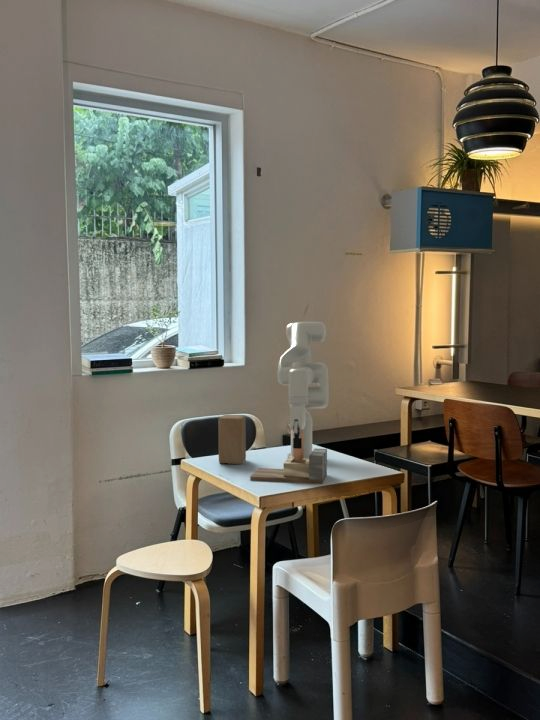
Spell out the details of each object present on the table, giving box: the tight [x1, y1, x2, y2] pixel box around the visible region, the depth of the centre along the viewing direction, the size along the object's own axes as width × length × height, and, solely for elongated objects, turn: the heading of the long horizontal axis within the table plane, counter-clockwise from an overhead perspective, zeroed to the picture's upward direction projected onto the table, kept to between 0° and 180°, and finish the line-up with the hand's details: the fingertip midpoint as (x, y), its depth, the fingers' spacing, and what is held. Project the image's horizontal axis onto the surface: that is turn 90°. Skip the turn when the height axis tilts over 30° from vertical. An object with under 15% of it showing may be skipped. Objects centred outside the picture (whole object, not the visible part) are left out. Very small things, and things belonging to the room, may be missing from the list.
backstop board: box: [249, 448, 328, 485], centre depth 271 cm, size 14×28×10 cm, turn 78°
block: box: [217, 414, 247, 465], centre depth 298 cm, size 10×10×20 cm
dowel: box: [293, 426, 304, 460], centre depth 270 cm, size 4×4×13 cm
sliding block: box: [283, 457, 309, 477], centre depth 271 cm, size 10×10×5 cm
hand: (298, 446), depth 270 cm, fingers closed on dowel, 4 cm apart
